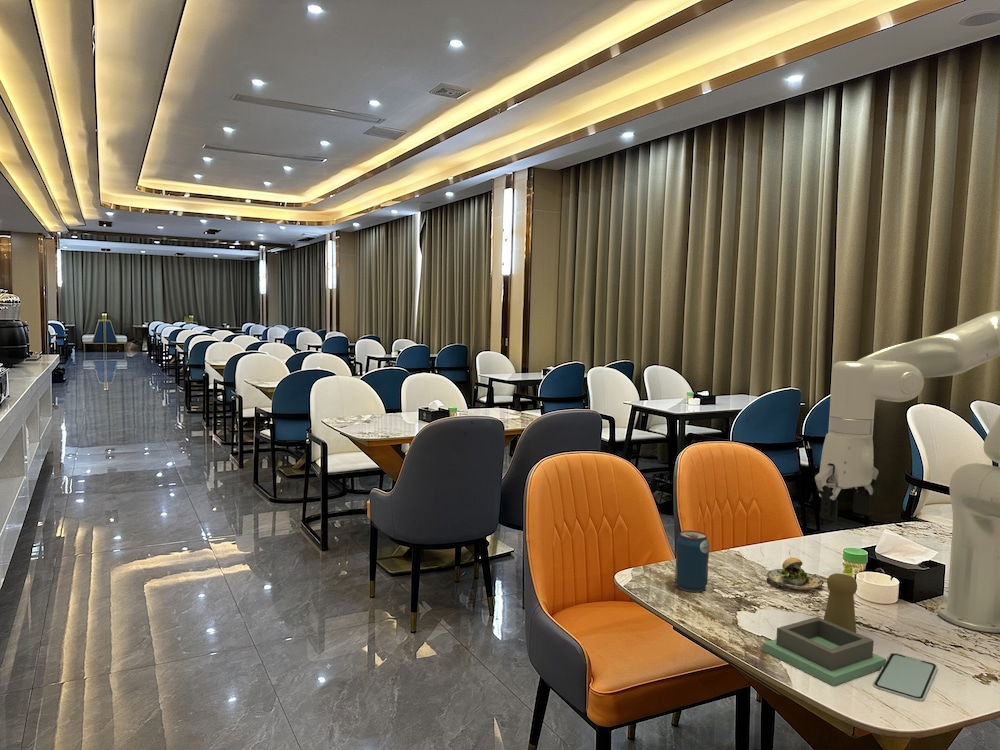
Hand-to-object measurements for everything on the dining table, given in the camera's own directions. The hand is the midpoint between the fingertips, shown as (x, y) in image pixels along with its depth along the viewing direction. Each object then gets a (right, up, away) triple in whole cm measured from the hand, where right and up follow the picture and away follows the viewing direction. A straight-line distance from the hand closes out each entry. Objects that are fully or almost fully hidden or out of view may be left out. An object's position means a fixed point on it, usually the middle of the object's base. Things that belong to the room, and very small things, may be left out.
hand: (845, 516), depth 135 cm
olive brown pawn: (0, -23, +1) cm, 23 cm away
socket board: (-9, -23, -10) cm, 27 cm away
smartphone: (+2, -24, -16) cm, 29 cm away
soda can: (-23, -21, +23) cm, 39 cm away
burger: (+1, -21, +27) cm, 34 cm away
